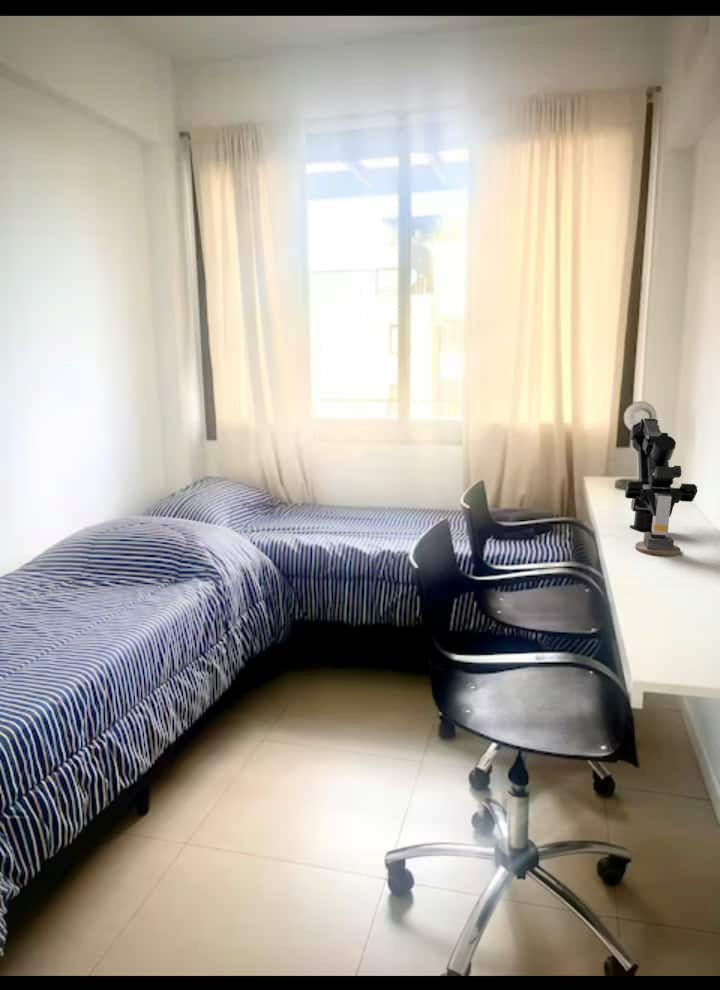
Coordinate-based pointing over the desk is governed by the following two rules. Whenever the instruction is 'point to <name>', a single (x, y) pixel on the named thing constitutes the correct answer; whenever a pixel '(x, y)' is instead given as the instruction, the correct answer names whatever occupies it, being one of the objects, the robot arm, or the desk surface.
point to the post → (661, 514)
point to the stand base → (658, 545)
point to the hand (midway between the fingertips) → (662, 515)
